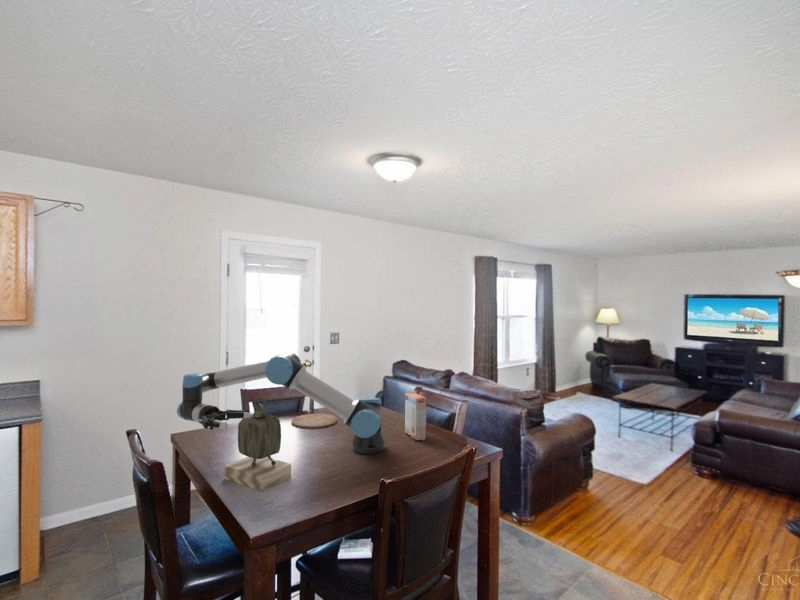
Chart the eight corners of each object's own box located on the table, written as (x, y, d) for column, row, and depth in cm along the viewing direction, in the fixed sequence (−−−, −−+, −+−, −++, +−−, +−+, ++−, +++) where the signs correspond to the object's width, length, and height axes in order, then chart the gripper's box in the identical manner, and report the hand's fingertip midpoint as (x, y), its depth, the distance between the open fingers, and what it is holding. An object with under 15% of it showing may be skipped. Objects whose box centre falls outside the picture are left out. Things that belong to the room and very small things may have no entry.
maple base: (290, 477, 151) (291, 463, 151) (261, 491, 139) (262, 477, 139) (254, 466, 161) (254, 454, 161) (224, 479, 149) (224, 465, 149)
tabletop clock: (280, 465, 150) (281, 398, 151) (260, 473, 143) (261, 403, 143) (255, 457, 158) (256, 393, 159) (235, 464, 150) (236, 398, 151)
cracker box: (426, 440, 195) (427, 397, 196) (415, 441, 193) (415, 398, 193) (415, 432, 208) (415, 392, 209) (404, 433, 206) (404, 392, 206)
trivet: (283, 422, 225) (283, 419, 225) (321, 414, 243) (321, 411, 243) (306, 432, 207) (306, 428, 207) (345, 423, 225) (345, 419, 225)
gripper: (232, 416, 176) (266, 423, 166) (177, 431, 154) (212, 440, 144) (232, 399, 176) (266, 405, 166) (177, 411, 154) (212, 419, 144)
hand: (241, 421), depth 155 cm, fingers open, 13 cm apart
